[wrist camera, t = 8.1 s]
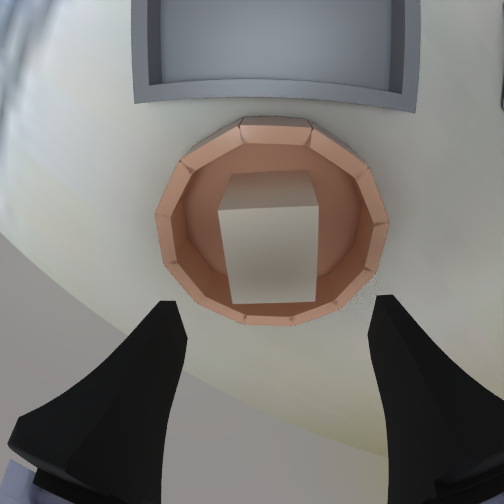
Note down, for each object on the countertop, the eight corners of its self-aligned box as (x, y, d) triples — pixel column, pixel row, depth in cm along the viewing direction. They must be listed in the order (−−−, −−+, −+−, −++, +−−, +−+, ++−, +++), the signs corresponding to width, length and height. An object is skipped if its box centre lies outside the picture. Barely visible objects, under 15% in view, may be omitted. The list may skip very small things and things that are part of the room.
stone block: (307, 169, 16) (318, 205, 12) (307, 250, 18) (315, 301, 15) (231, 173, 16) (217, 210, 12) (241, 252, 19) (232, 303, 15)
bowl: (383, 125, 14) (404, 138, 12) (351, 294, 21) (359, 326, 18) (165, 118, 15) (144, 129, 12) (185, 288, 21) (175, 319, 19)
